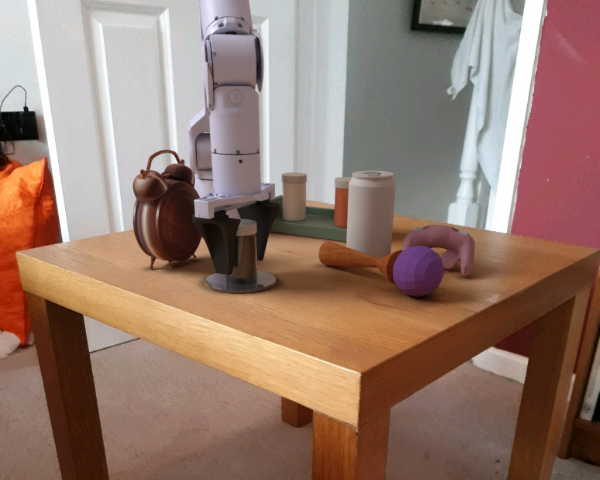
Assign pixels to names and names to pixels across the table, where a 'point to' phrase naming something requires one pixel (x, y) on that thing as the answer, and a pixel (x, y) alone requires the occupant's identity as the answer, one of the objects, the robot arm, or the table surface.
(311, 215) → the spice rack
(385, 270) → the kendama
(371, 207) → the beverage can
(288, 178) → the salt shaker
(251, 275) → the pepper shaker
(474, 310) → the table surface
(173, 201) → the alarm clock
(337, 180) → the paprika shaker
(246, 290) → the coaster
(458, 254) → the video game controller
